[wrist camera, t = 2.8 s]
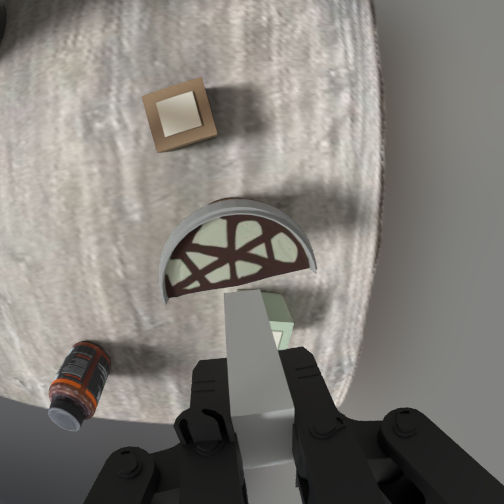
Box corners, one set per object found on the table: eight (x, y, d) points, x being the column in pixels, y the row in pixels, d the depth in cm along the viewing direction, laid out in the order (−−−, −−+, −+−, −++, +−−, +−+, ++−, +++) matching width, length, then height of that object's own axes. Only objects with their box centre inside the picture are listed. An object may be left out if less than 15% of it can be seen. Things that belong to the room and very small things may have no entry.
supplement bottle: (63, 344, 33) (29, 402, 22) (97, 335, 33) (65, 399, 22) (86, 377, 35) (61, 437, 24) (119, 371, 35) (98, 436, 24)
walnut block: (154, 104, 25) (141, 96, 20) (204, 88, 25) (201, 76, 20) (167, 151, 27) (156, 152, 22) (217, 136, 27) (217, 133, 22)
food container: (282, 174, 29) (313, 188, 20) (292, 233, 31) (323, 271, 22) (159, 201, 28) (132, 227, 19) (174, 258, 31) (157, 307, 21)
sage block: (236, 289, 33) (241, 319, 27) (281, 293, 33) (294, 323, 28) (230, 327, 34) (233, 361, 28) (272, 331, 35) (282, 364, 29)
